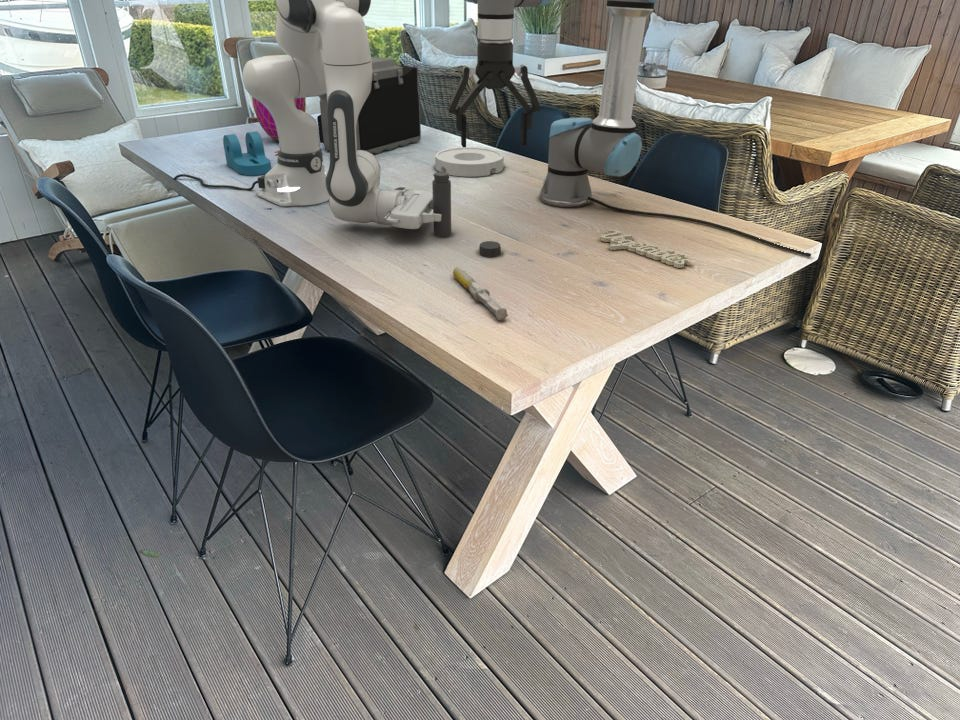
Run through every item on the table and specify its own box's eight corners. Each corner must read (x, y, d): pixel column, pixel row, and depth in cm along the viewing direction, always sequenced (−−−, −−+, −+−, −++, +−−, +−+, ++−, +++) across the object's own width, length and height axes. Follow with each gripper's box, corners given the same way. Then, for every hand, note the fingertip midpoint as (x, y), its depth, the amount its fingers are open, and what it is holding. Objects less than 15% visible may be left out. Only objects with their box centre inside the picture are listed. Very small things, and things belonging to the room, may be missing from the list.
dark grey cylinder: (447, 230, 180) (446, 170, 172) (454, 236, 176) (453, 175, 168) (430, 232, 178) (429, 172, 170) (437, 238, 175) (436, 177, 167)
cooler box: (383, 133, 276) (378, 52, 261) (425, 141, 265) (422, 56, 250) (314, 150, 251) (304, 61, 235) (358, 160, 240) (350, 67, 224)
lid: (493, 258, 163) (493, 250, 162) (475, 254, 166) (475, 245, 165) (504, 252, 167) (504, 243, 166) (486, 247, 170) (486, 239, 168)
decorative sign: (586, 237, 174) (611, 228, 179) (586, 240, 174) (611, 231, 180) (674, 268, 157) (698, 257, 162) (673, 272, 157) (698, 261, 163)
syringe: (449, 274, 155) (449, 263, 153) (465, 272, 156) (464, 260, 154) (490, 323, 135) (491, 310, 133) (508, 319, 136) (508, 307, 134)
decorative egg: (293, 132, 276) (283, 50, 261) (319, 140, 264) (310, 56, 249) (249, 139, 265) (236, 54, 250) (273, 148, 253) (261, 60, 238)
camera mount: (227, 164, 233) (221, 132, 227) (257, 160, 238) (252, 129, 233) (244, 176, 220) (239, 143, 215) (276, 172, 225) (271, 139, 220)
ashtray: (438, 158, 243) (438, 146, 241) (503, 159, 243) (503, 147, 241) (432, 176, 223) (431, 163, 221) (503, 177, 223) (503, 165, 221)
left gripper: (380, 208, 166) (436, 212, 164) (402, 184, 183) (453, 187, 181) (381, 233, 169) (436, 237, 167) (403, 207, 186) (453, 210, 184)
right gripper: (549, 38, 148) (543, 139, 159) (433, 39, 144) (436, 142, 155) (558, 42, 141) (552, 147, 152) (437, 43, 138) (440, 150, 149)
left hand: (445, 211), depth 174 cm, fingers open, 8 cm apart
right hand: (493, 145), depth 154 cm, fingers open, 13 cm apart
